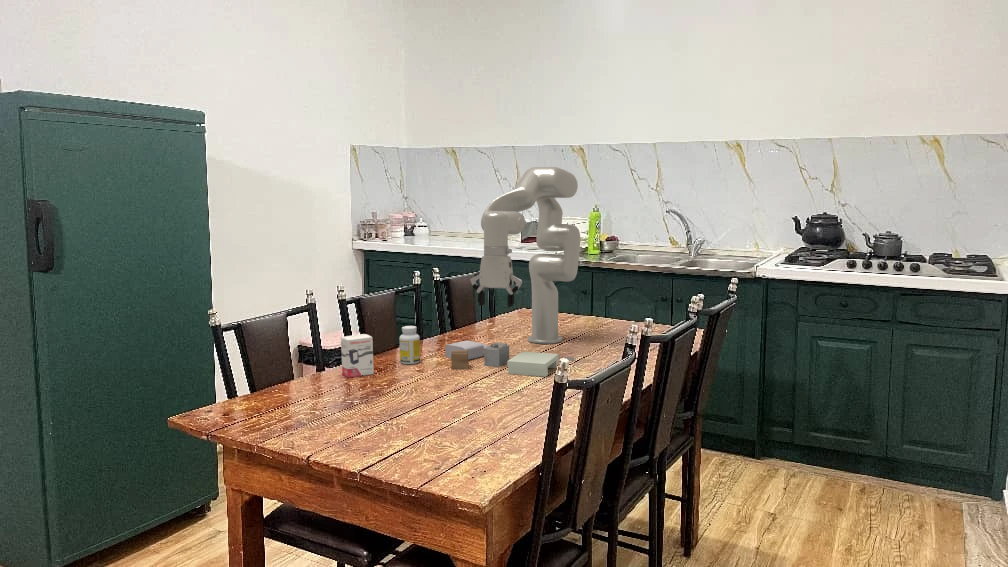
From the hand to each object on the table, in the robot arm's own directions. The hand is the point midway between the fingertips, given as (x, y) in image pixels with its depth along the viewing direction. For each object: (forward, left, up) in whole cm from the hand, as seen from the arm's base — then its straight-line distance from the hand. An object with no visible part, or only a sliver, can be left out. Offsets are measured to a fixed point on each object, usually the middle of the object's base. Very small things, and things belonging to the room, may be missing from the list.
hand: (496, 305), depth 255 cm
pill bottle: (+8, -27, -19) cm, 34 cm away
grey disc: (-11, +20, -19) cm, 30 cm away
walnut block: (+9, -9, -19) cm, 23 cm away
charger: (-8, -12, -19) cm, 24 cm away
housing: (0, 0, -19) cm, 19 cm away
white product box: (+27, -35, -19) cm, 48 cm away
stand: (+5, +14, -19) cm, 24 cm away
